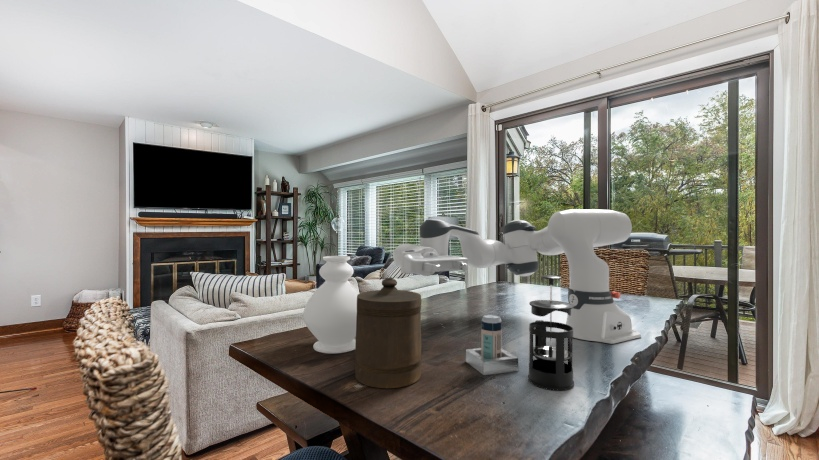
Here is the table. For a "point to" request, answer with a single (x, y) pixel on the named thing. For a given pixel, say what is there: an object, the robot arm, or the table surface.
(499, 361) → the light grey square box
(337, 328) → the decorative vase
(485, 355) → the supplement bottle
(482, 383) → the table surface
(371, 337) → the wooden container
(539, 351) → the french press
